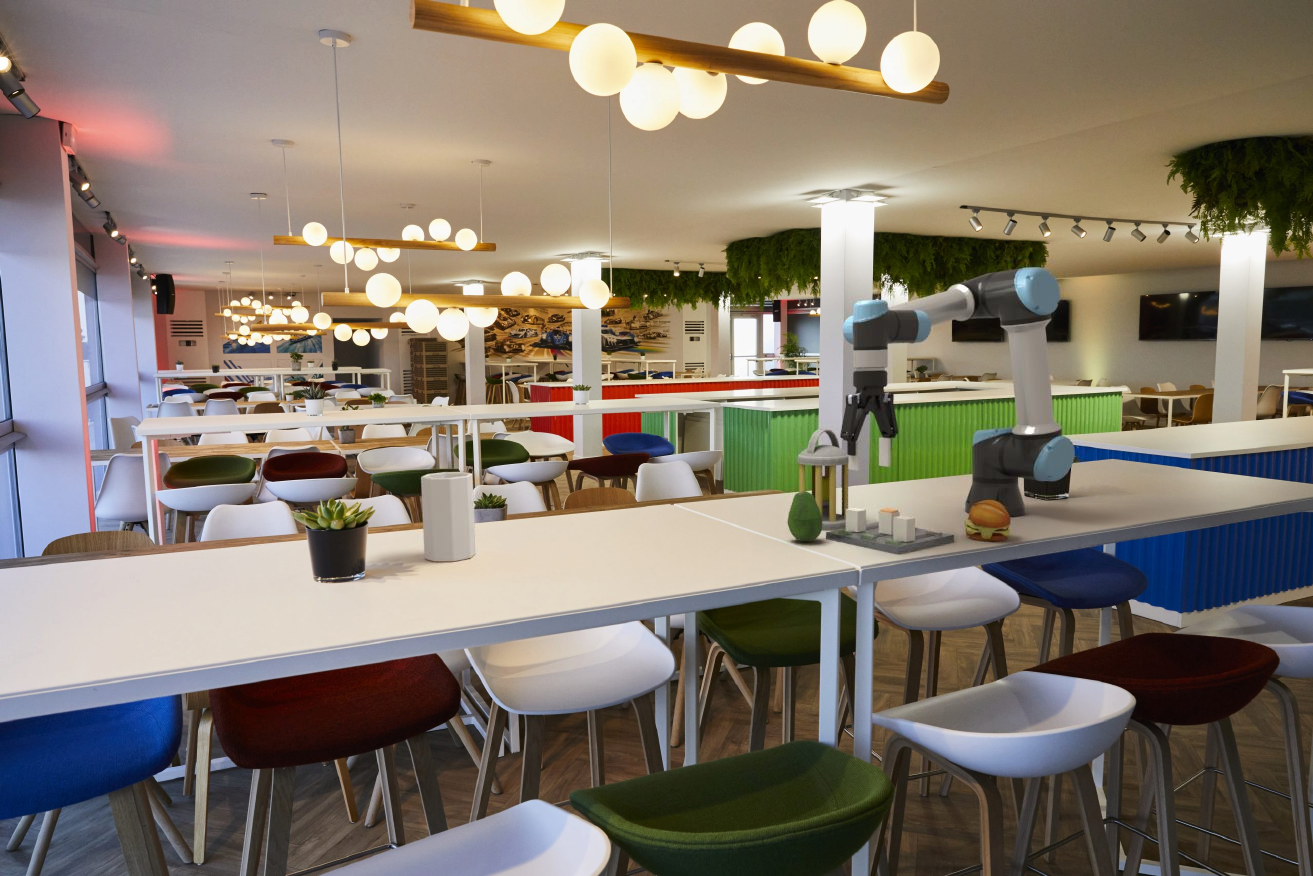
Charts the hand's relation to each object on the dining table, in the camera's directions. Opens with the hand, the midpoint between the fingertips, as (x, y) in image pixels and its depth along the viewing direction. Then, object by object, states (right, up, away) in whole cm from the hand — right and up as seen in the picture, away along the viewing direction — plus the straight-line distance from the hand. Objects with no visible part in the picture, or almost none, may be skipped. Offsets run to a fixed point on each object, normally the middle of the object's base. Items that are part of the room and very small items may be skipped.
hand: (869, 467), depth 187 cm
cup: (-95, -20, -3) cm, 97 cm away
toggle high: (+7, -16, -2) cm, 18 cm away
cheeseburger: (+29, -17, +6) cm, 34 cm away
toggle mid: (+6, -15, +5) cm, 17 cm away
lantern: (-5, -16, +25) cm, 30 cm away
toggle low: (-1, -15, +9) cm, 18 cm away
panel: (+6, -17, +6) cm, 19 cm away
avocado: (-14, -18, +6) cm, 23 cm away
